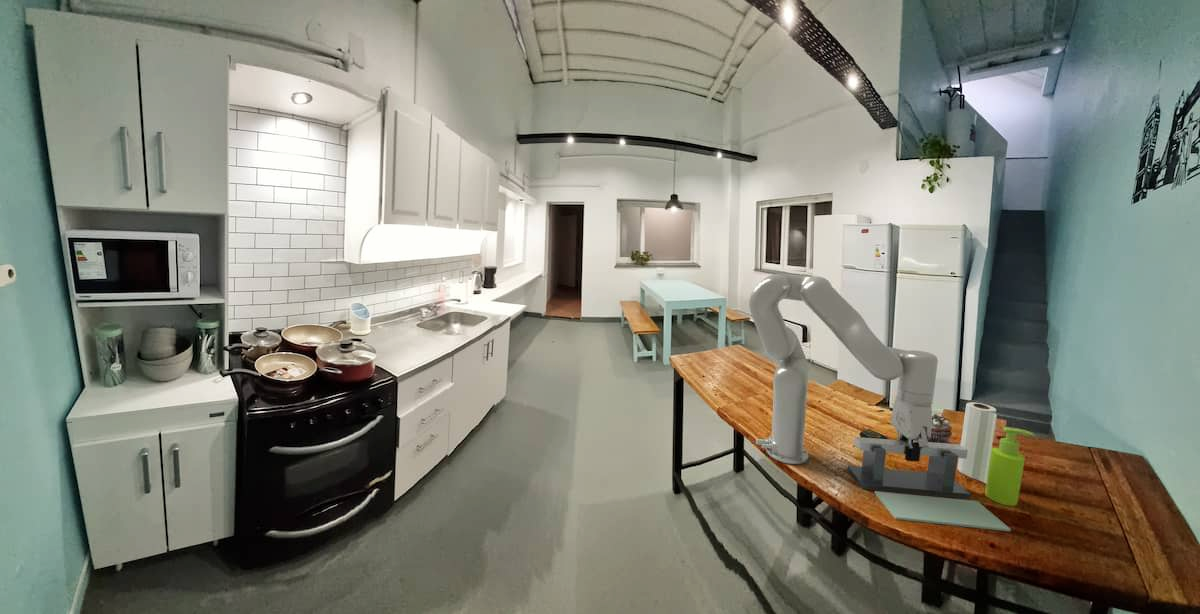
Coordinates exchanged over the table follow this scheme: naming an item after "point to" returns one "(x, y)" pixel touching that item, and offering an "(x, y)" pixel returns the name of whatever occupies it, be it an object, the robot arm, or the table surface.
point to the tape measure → (871, 434)
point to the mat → (940, 511)
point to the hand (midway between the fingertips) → (907, 456)
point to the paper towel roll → (977, 440)
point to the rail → (901, 445)
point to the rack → (909, 476)
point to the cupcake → (940, 430)
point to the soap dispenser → (1006, 469)
